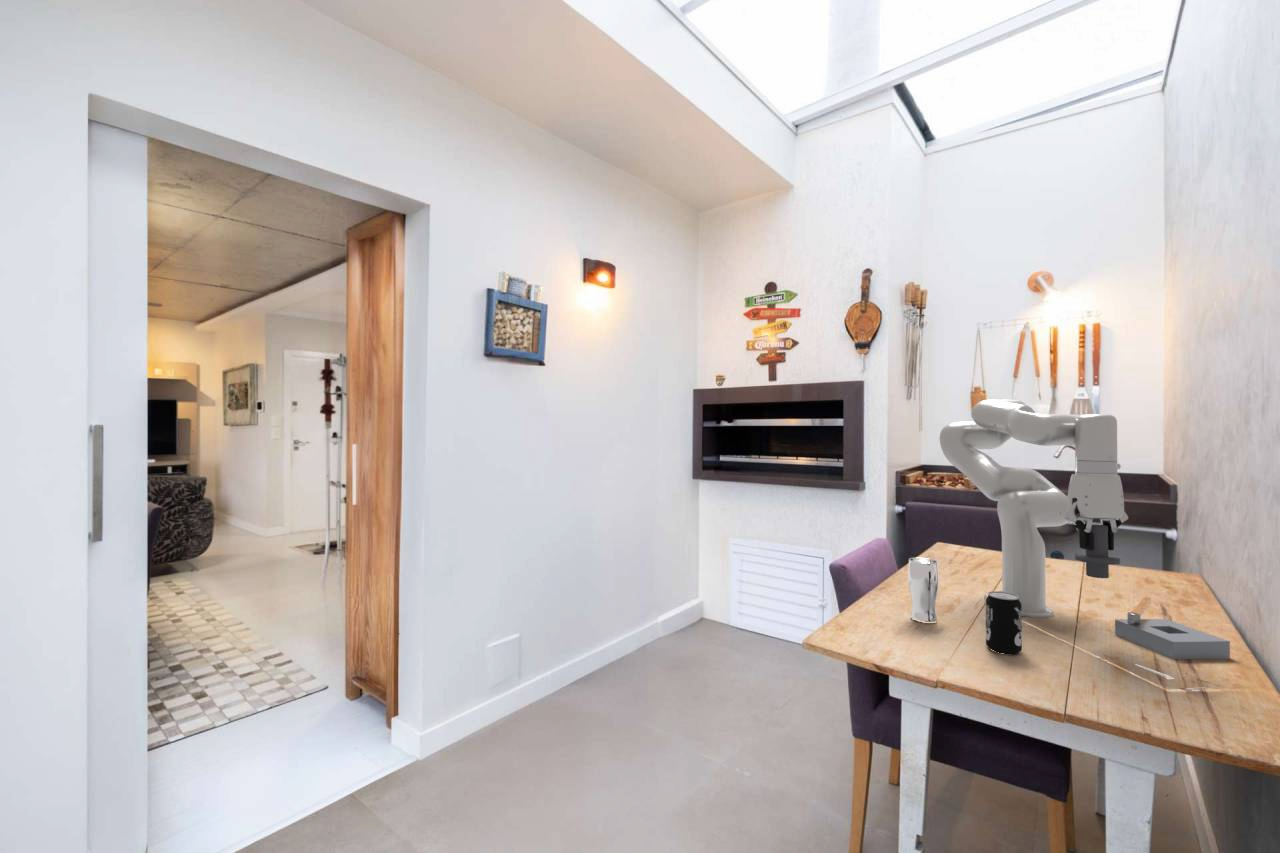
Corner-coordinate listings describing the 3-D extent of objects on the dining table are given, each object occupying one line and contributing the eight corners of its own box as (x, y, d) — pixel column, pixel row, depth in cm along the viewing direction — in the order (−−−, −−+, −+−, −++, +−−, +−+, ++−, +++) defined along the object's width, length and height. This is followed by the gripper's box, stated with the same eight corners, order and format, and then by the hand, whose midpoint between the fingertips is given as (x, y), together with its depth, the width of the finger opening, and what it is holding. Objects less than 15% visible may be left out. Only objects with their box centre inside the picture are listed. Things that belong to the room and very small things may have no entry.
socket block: (1173, 661, 118) (1173, 641, 118) (1115, 636, 132) (1115, 619, 132) (1229, 660, 118) (1229, 641, 118) (1165, 636, 132) (1165, 618, 132)
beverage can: (1010, 658, 120) (1010, 601, 120) (979, 647, 125) (979, 593, 125) (1028, 652, 123) (1028, 596, 123) (997, 642, 128) (997, 589, 128)
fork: (1109, 656, 123) (1109, 647, 123) (1213, 697, 103) (1213, 686, 103) (1095, 657, 122) (1095, 648, 122) (1198, 698, 102) (1197, 687, 102)
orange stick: (1139, 626, 127) (1139, 616, 127) (1126, 623, 128) (1126, 613, 128) (1154, 607, 140) (1154, 598, 140) (1142, 605, 141) (1142, 596, 141)
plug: (1094, 580, 125) (1093, 528, 126) (1066, 572, 133) (1065, 522, 134) (1130, 580, 126) (1129, 528, 126) (1099, 571, 134) (1099, 522, 134)
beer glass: (909, 622, 142) (908, 562, 142) (907, 614, 148) (907, 556, 148) (940, 626, 139) (940, 564, 139) (937, 617, 146) (937, 558, 146)
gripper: (1117, 467, 134) (1118, 545, 134) (1047, 467, 133) (1048, 546, 133) (1146, 469, 126) (1147, 552, 126) (1073, 469, 126) (1073, 553, 126)
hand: (1096, 548), depth 130 cm, fingers closed on plug, 4 cm apart
